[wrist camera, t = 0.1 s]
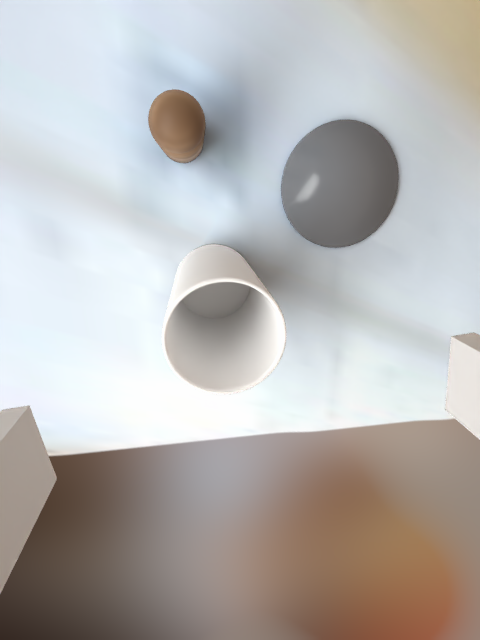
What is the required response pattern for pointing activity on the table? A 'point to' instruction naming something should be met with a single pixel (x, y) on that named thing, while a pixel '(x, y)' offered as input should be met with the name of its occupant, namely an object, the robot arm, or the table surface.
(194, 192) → the table surface
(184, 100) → the pepper mill
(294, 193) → the coaster
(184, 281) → the cup
